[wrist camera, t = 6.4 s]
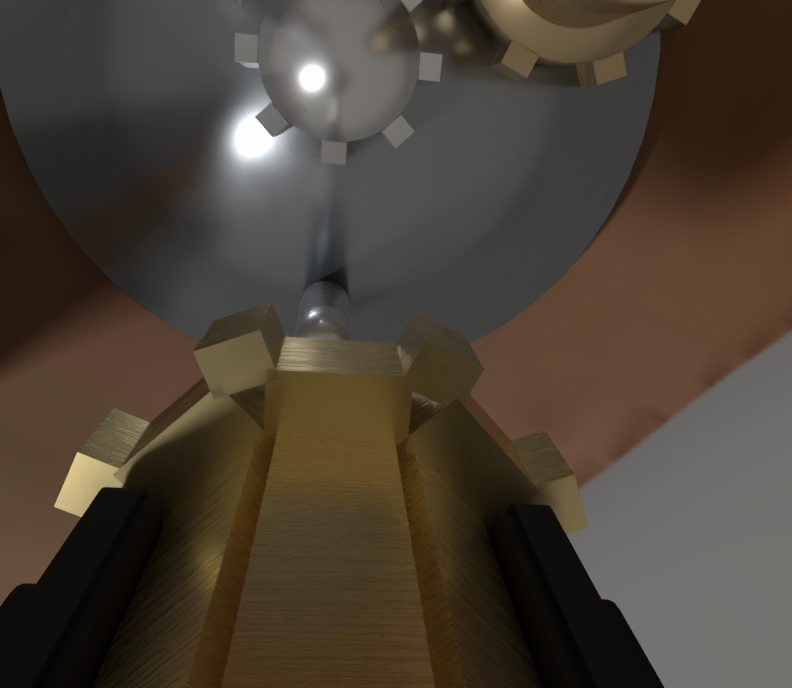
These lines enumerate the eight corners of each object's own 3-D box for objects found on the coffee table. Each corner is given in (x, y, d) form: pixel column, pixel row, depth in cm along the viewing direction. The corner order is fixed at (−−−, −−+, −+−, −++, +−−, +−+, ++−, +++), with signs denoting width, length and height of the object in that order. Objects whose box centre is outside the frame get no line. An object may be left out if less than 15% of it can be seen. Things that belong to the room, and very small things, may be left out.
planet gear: (85, 288, 10) (-352, 557, 4) (584, 322, 11) (922, 594, 4) (104, 701, 12) (-149, 1306, 6) (516, 705, 13) (680, 1250, 7)
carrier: (-25, -387, 18) (-308, -783, 10) (713, -269, 20) (957, -517, 12) (33, 345, 24) (-113, 455, 16) (592, 376, 26) (701, 486, 18)
